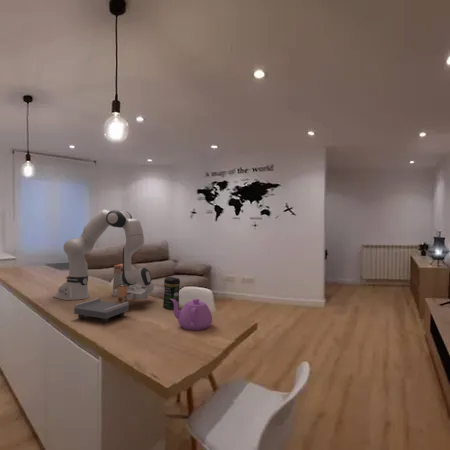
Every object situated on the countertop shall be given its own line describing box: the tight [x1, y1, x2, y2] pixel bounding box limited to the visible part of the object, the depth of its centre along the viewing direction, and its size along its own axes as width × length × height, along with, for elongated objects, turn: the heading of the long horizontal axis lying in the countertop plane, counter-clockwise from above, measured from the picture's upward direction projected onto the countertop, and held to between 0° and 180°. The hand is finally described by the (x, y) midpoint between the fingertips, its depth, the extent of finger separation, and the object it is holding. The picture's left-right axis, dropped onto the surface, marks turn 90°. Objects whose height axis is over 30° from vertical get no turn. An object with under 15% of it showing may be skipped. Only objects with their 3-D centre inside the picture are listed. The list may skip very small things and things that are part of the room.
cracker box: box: [112, 263, 130, 291], centre depth 233 cm, size 14×6×21 cm, turn 168°
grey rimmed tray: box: [73, 297, 129, 324], centre depth 177 cm, size 20×18×7 cm
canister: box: [116, 284, 128, 304], centre depth 193 cm, size 6×6×14 cm
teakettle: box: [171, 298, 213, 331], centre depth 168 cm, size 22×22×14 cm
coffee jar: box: [162, 276, 181, 310], centre depth 202 cm, size 10×8×19 cm
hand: (121, 296), depth 192 cm, fingers closed on canister, 6 cm apart
